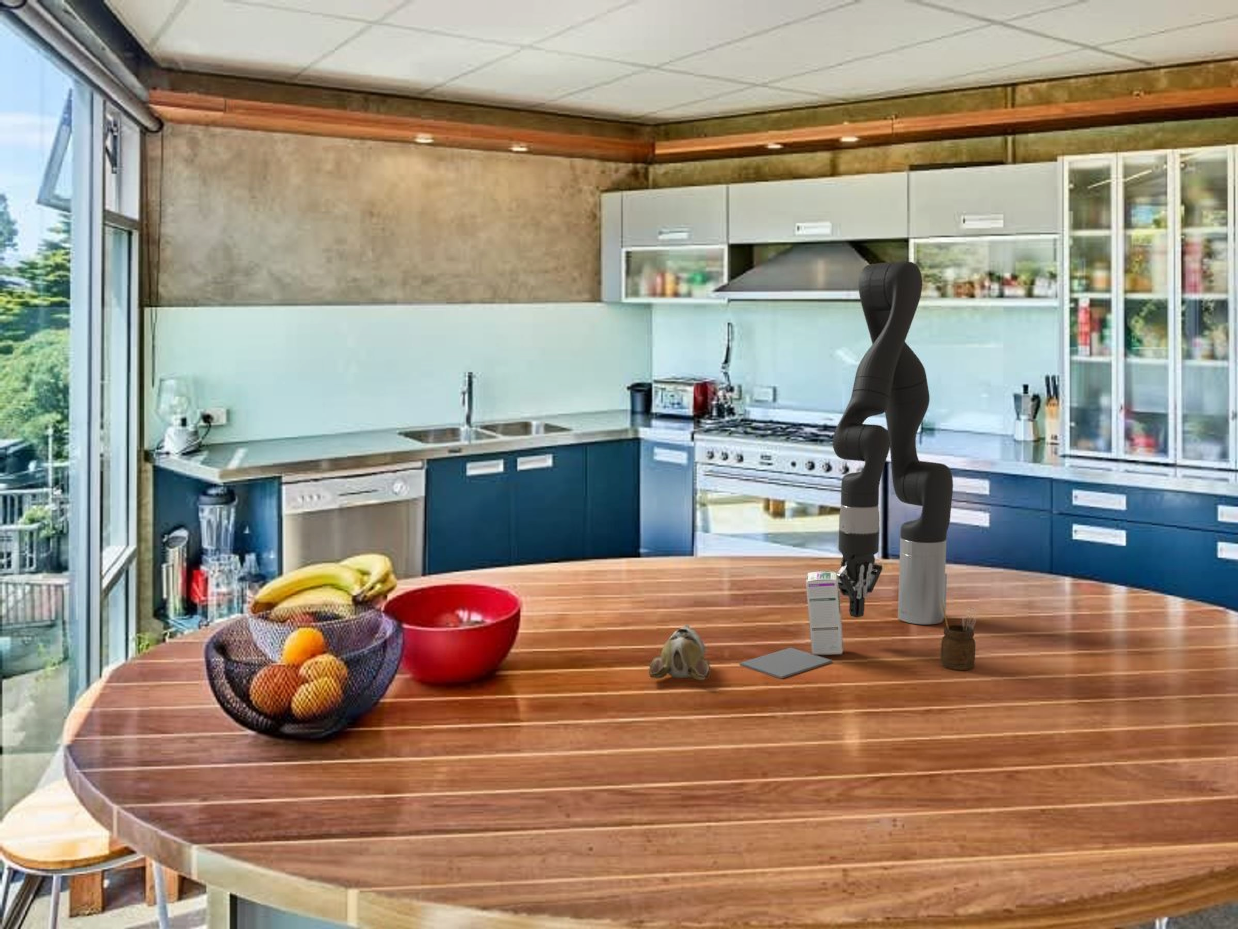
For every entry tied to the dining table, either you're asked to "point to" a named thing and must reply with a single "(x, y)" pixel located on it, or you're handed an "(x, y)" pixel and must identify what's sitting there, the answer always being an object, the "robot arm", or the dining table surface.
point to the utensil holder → (958, 645)
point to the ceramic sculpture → (682, 657)
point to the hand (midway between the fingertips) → (856, 616)
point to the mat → (785, 663)
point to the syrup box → (824, 612)
